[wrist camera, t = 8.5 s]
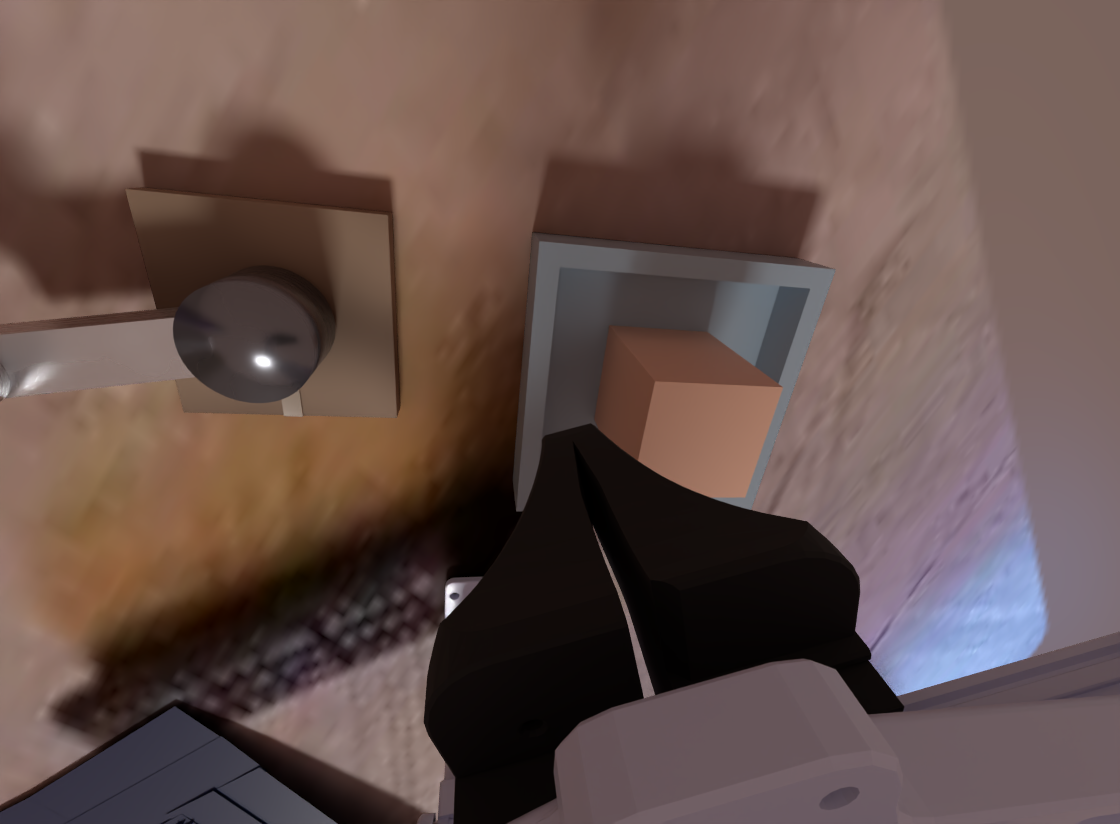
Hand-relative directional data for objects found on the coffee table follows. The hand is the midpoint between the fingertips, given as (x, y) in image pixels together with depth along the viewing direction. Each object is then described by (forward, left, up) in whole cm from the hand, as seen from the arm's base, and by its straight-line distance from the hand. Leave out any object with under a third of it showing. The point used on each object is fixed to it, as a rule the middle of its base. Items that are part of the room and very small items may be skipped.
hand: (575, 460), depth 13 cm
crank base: (+1, +10, -9) cm, 14 cm away
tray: (-1, -5, -9) cm, 11 cm away
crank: (0, +14, -8) cm, 16 cm away
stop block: (-1, -5, -9) cm, 10 cm away
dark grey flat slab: (-42, +19, -10) cm, 47 cm away
